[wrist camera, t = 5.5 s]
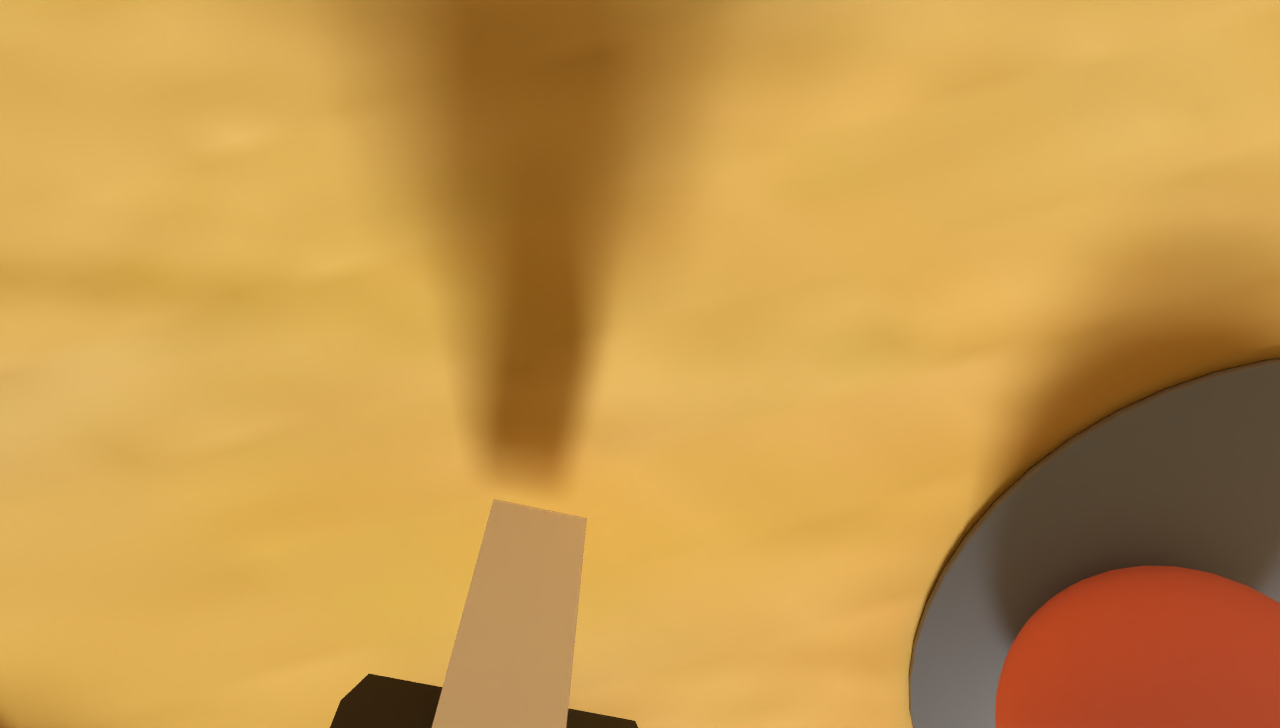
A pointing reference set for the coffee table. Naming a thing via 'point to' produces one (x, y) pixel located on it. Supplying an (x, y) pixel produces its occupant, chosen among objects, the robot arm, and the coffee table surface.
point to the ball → (1146, 655)
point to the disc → (1107, 527)
